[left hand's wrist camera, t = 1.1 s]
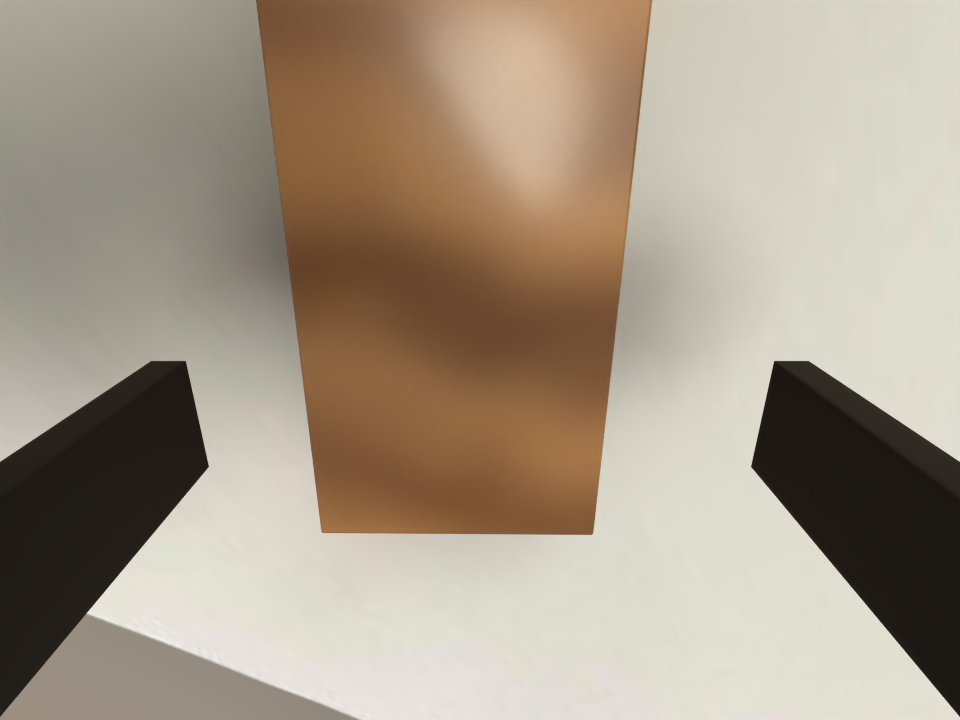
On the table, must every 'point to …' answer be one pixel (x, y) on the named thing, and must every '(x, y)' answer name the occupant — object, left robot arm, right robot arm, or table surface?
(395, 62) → the wide beam
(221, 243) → the table surface
